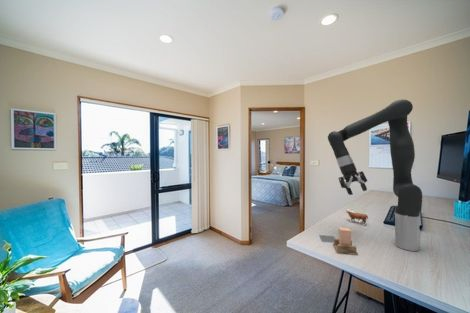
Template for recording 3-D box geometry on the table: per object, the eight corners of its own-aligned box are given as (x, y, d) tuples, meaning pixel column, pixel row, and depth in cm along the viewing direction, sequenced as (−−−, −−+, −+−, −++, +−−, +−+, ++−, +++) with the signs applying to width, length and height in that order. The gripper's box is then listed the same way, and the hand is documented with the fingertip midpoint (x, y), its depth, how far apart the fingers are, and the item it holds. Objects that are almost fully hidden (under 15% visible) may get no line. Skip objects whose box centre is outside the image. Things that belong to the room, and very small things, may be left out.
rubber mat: (333, 236, 109) (333, 236, 109) (337, 243, 101) (337, 243, 101) (319, 235, 111) (319, 235, 111) (321, 242, 103) (321, 241, 103)
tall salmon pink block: (348, 247, 96) (348, 227, 95) (350, 250, 92) (350, 230, 92) (338, 246, 97) (338, 227, 96) (340, 249, 93) (340, 230, 93)
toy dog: (346, 219, 135) (346, 208, 134) (368, 224, 124) (368, 212, 124) (343, 220, 132) (343, 209, 132) (366, 226, 121) (366, 214, 121)
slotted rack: (351, 247, 97) (351, 239, 97) (357, 256, 90) (357, 247, 89) (332, 245, 100) (332, 238, 99) (337, 254, 92) (337, 245, 92)
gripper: (338, 166, 101) (351, 195, 97) (362, 159, 103) (374, 188, 99) (331, 169, 108) (342, 196, 104) (352, 163, 110) (364, 190, 106)
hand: (358, 192), depth 102 cm, fingers open, 8 cm apart
